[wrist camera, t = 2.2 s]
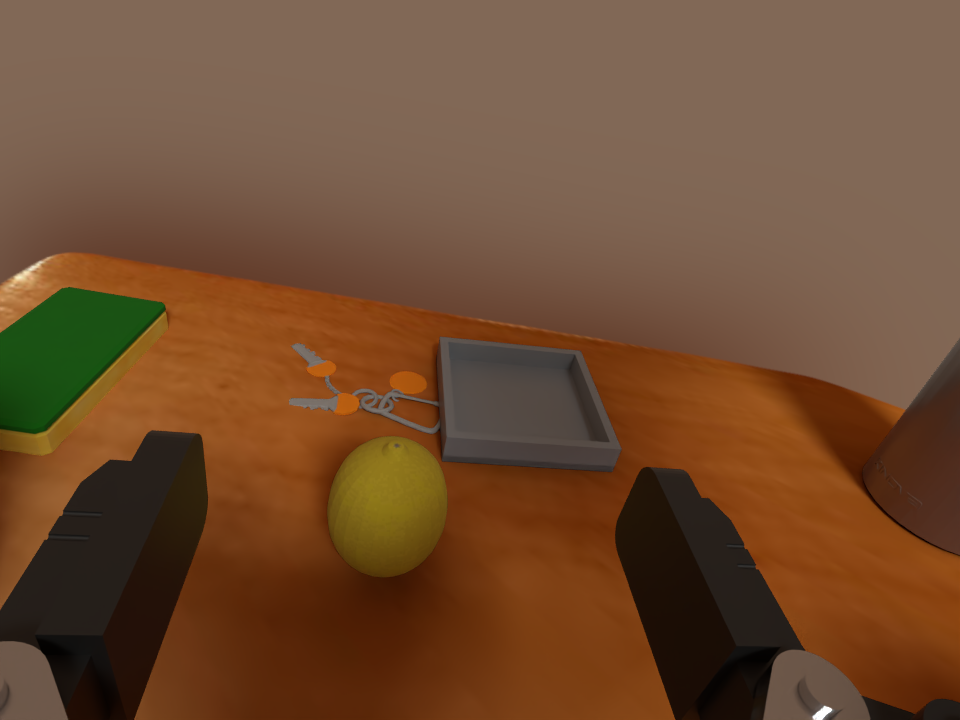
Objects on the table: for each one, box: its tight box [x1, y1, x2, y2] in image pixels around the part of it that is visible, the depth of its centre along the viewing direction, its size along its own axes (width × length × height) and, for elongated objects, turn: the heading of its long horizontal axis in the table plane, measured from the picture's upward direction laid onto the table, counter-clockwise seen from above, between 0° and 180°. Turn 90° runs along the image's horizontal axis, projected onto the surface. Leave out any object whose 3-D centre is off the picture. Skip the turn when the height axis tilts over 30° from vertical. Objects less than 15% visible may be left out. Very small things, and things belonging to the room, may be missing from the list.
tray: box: [436, 337, 622, 472], centre depth 41 cm, size 11×11×2 cm
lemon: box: [327, 436, 448, 577], centre depth 28 cm, size 6×6×8 cm
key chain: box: [289, 343, 440, 434], centre depth 41 cm, size 13×7×1 cm, turn 79°
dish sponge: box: [0, 287, 168, 456], centre depth 37 cm, size 7×14×2 cm, turn 178°
